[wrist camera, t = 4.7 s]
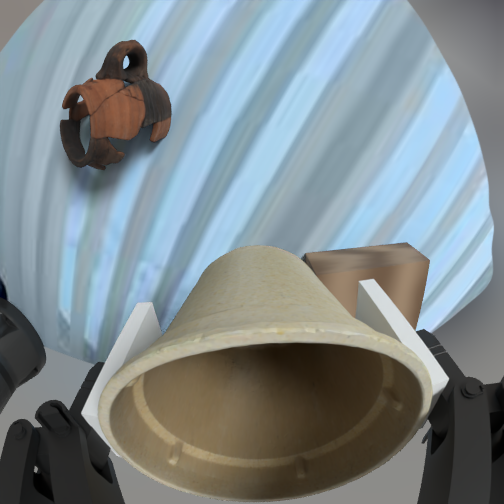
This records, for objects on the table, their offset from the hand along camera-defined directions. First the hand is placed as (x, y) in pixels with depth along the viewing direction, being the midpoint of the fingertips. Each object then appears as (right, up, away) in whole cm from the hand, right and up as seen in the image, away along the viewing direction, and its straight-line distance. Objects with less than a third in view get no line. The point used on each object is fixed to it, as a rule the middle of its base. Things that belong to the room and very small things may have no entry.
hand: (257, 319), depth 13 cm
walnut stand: (+12, -2, +18) cm, 22 cm away
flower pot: (0, +1, +2) cm, 2 cm away
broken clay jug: (-12, +17, +10) cm, 23 cm away
